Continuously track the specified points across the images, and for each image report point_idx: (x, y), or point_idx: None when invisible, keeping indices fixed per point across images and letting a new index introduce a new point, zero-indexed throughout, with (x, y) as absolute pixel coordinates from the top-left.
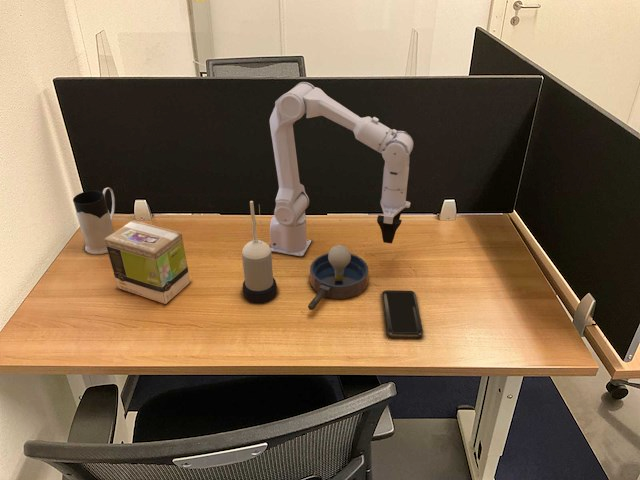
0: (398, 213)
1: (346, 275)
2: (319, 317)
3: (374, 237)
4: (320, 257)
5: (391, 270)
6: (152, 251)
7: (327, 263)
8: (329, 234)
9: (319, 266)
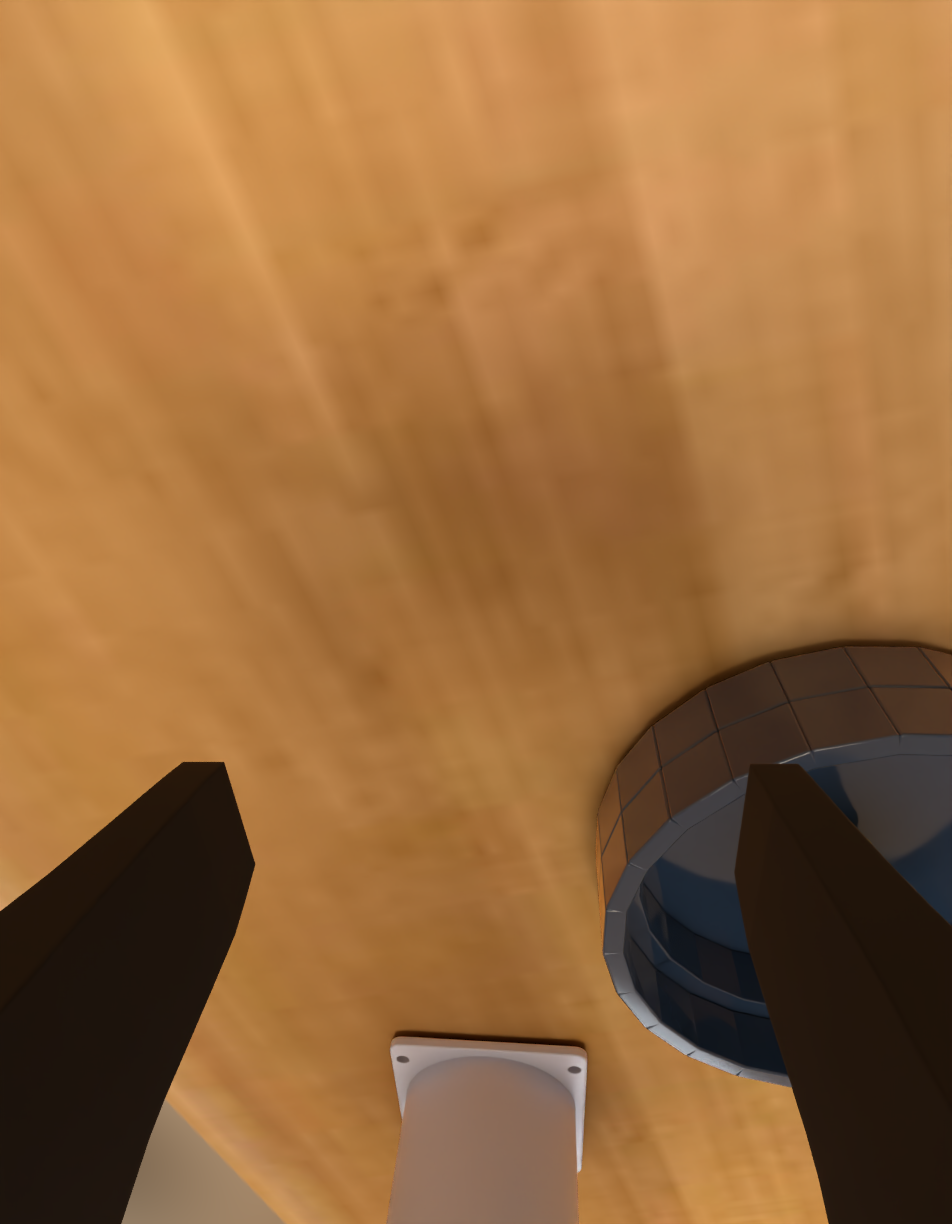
0: (35, 1046)
1: None
2: None
3: (109, 712)
4: (726, 1059)
5: (560, 479)
6: None
7: (687, 961)
8: (254, 967)
9: (757, 1002)
